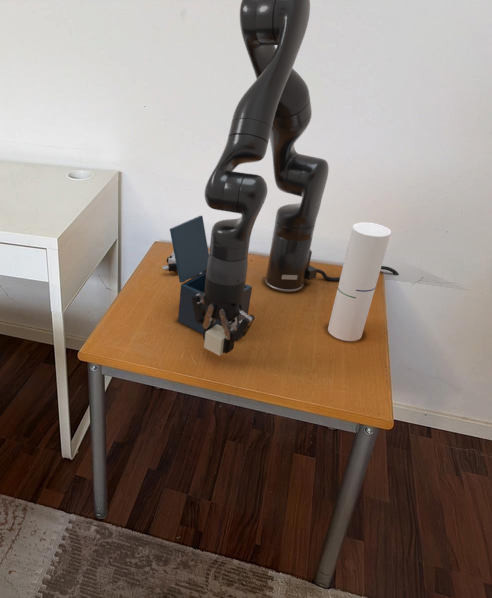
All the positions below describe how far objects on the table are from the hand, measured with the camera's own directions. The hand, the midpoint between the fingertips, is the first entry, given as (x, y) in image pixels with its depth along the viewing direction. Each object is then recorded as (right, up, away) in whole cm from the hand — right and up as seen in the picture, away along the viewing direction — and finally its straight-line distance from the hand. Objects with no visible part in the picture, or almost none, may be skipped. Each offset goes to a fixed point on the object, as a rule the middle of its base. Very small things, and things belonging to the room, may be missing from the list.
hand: (217, 346), depth 118 cm
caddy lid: (-3, +21, +10) cm, 24 cm away
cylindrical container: (+31, +2, +10) cm, 32 cm away
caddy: (+2, +4, +14) cm, 14 cm away
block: (0, 0, 0) cm, 0 cm away
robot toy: (+1, +17, +35) cm, 39 cm away
